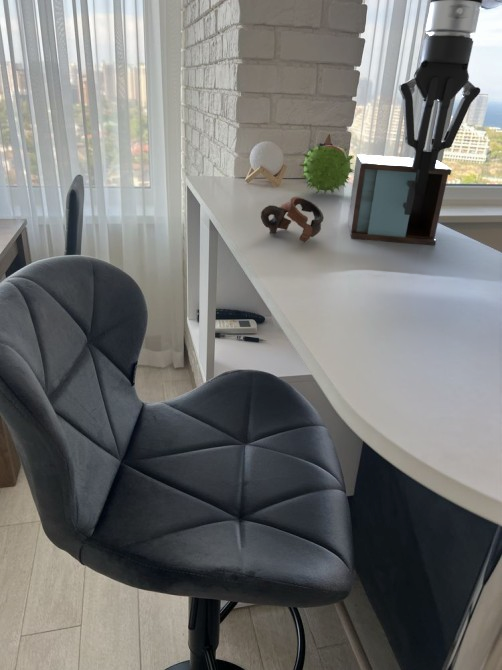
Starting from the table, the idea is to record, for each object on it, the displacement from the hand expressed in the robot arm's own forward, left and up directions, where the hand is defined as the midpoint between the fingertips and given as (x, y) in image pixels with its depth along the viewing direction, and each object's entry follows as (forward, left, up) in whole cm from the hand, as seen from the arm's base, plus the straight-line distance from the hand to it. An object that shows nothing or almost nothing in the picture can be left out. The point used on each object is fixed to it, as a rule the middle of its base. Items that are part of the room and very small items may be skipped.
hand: (419, 189), depth 90 cm
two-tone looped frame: (+22, 0, -11) cm, 25 cm away
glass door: (+4, -2, -10) cm, 11 cm away
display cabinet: (+2, -10, -11) cm, 15 cm away
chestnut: (+15, -47, -11) cm, 51 cm away
